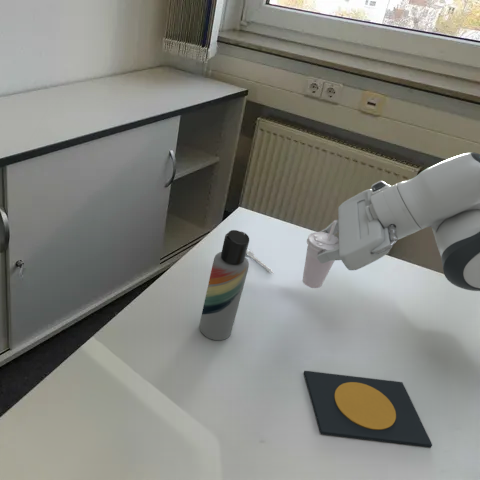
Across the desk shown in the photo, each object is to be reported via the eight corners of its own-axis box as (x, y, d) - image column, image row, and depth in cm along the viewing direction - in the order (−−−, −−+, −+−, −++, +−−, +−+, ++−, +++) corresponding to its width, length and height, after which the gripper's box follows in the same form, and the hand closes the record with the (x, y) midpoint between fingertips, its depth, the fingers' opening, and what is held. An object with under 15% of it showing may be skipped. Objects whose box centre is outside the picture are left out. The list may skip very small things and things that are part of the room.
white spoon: (274, 274, 112) (276, 266, 110) (258, 279, 110) (260, 270, 108) (231, 239, 122) (233, 231, 120) (216, 243, 120) (218, 235, 118)
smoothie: (333, 293, 103) (355, 231, 95) (300, 291, 103) (319, 228, 95) (323, 273, 108) (343, 213, 100) (291, 271, 108) (309, 210, 100)
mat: (401, 384, 88) (403, 381, 88) (431, 447, 78) (433, 444, 78) (303, 372, 89) (304, 369, 88) (320, 434, 78) (322, 430, 78)
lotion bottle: (211, 315, 99) (233, 221, 88) (237, 331, 96) (263, 236, 85) (192, 328, 95) (212, 232, 85) (218, 346, 92) (242, 249, 81)
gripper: (408, 258, 86) (328, 291, 93) (396, 202, 103) (328, 234, 110) (388, 228, 85) (308, 264, 92) (379, 176, 101) (311, 210, 109)
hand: (319, 247), depth 101 cm, fingers closed on smoothie, 6 cm apart
